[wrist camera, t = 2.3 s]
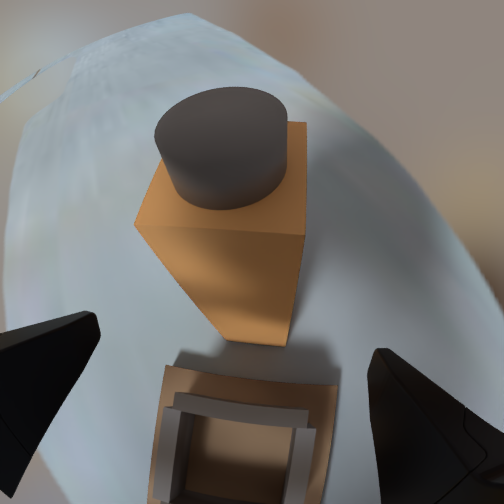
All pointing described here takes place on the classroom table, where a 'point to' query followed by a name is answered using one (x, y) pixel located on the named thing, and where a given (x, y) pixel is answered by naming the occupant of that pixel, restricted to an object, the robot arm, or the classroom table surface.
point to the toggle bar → (231, 209)
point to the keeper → (240, 440)
